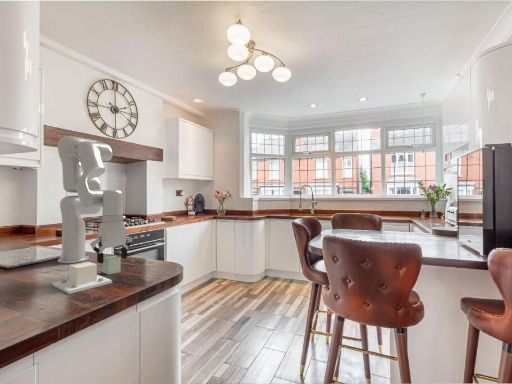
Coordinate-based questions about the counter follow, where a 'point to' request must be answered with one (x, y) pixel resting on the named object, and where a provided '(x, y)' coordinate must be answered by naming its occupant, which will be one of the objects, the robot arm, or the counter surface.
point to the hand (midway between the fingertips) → (112, 260)
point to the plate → (73, 288)
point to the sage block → (111, 265)
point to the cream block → (82, 273)
